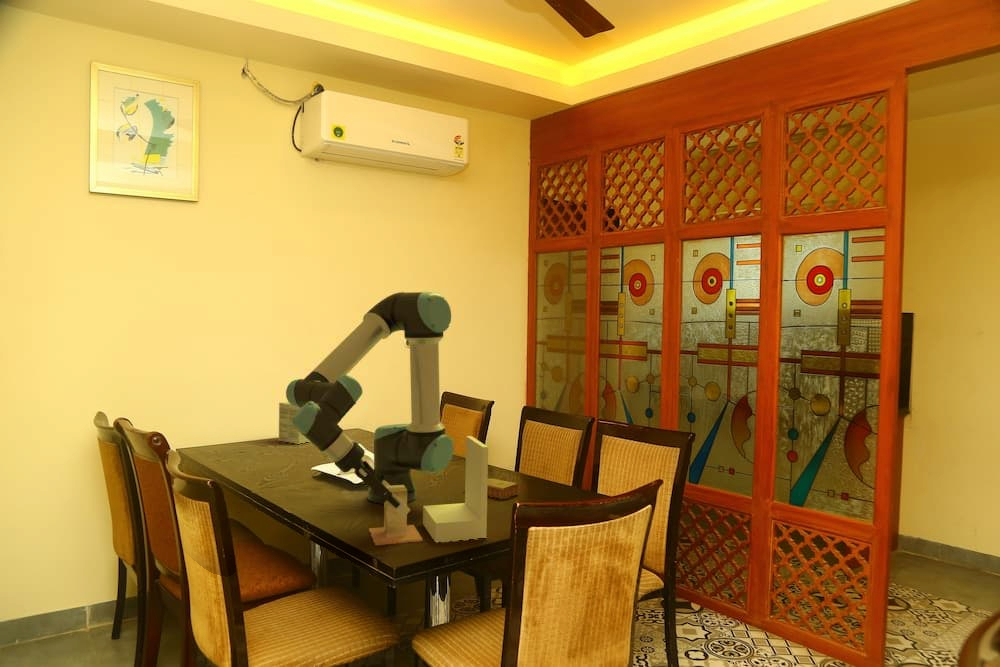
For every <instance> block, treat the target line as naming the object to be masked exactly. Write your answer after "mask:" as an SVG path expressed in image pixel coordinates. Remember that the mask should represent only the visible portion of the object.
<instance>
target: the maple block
mask: <svg viewBox="0 0 1000 667" xmlns="http://www.w3.org/2000/svg"><path fill="white" fill-rule="evenodd" d="M385 487H386V488H387V489H388V490H389V491H391V492H392V493H393V494H394V495H395V496H397V497H398V498H399V499H400V500H401V501H402V502H403V503H404V504H405V505H406V506H407V507H408V502H407V489H406V488H405V486H404V485H393V486H385ZM386 493H387V492H386ZM386 493H385V494H386ZM383 505H384V510H383V511H384V512H383V517H384V518H383V527H384V532H385V534H386V536H387V538H390V537H402V536H407V525H408V520H407V519H408V514H407V515H406V516H405V517H404V518H402V517H401V516H400V515H399V514H398V513H397V512H396V511H395V510H394V509H393V508H392V507H390V506H389V505H388V504H387V503H386V502H385V503H384V504H383Z"/></svg>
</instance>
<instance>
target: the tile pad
mask: <svg viewBox="0 0 1000 667" xmlns="http://www.w3.org/2000/svg"><path fill="white" fill-rule="evenodd" d="M368 530H369V531H368V532H369V534H370V533H371V534H370V536H371V539H372V538H373V539H372V540H373V544H374V543H375V544H374V546H383V545H386V544H387V545H395V544H396V545H397V543H398V544H408V543H409V542H410V543H419V542H421V543H422V542H424V541H423V536H421V535H420V532H419V530H418V529H417V528H416V526H415V525H414V524H407V536H402V537H390V538H387V536H386V534H385V532H384V526H380V527H369V528H368ZM410 543H409V544H410Z"/></svg>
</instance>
